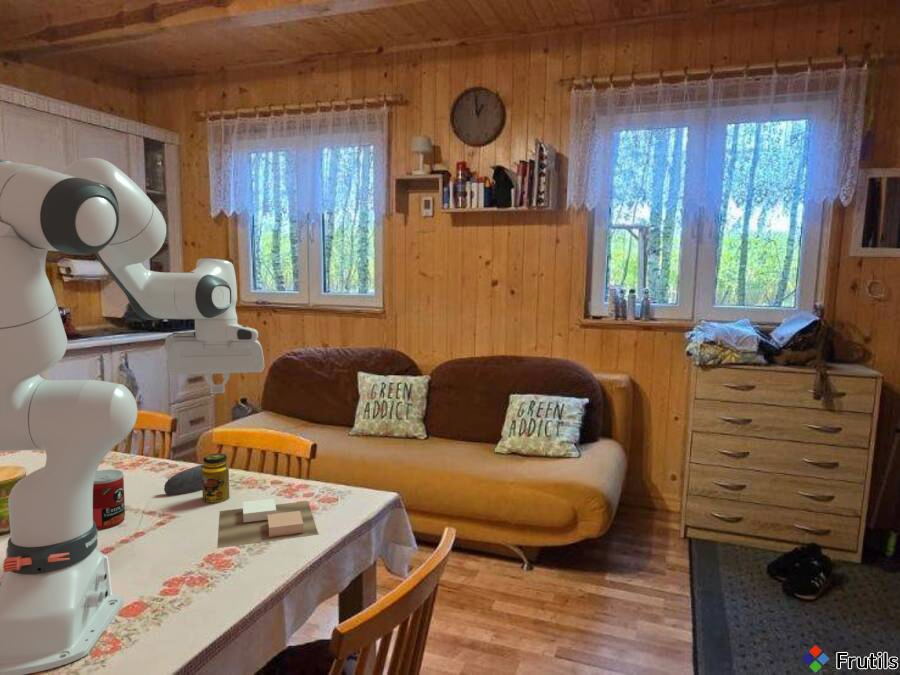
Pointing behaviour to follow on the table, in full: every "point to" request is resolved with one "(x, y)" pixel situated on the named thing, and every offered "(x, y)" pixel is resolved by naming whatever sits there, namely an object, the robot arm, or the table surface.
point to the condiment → (215, 478)
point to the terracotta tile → (285, 523)
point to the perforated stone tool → (185, 481)
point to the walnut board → (260, 526)
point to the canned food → (108, 498)
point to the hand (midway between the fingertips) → (217, 393)
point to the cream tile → (258, 510)
